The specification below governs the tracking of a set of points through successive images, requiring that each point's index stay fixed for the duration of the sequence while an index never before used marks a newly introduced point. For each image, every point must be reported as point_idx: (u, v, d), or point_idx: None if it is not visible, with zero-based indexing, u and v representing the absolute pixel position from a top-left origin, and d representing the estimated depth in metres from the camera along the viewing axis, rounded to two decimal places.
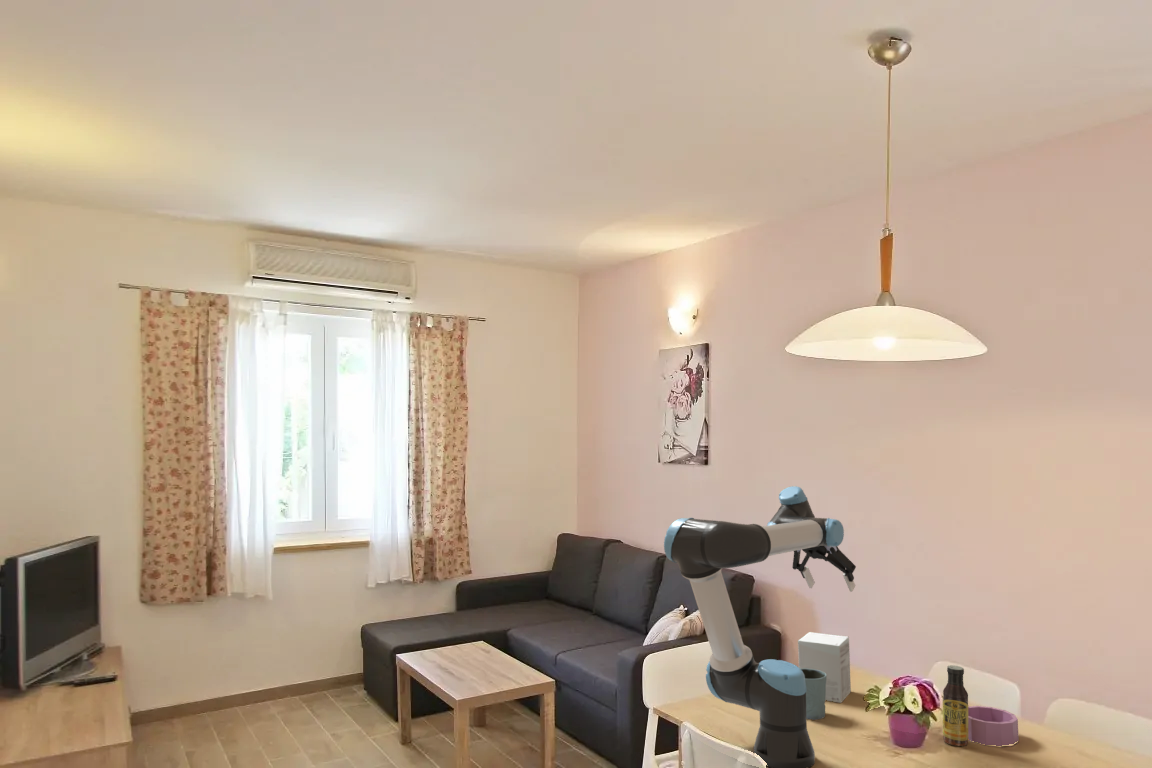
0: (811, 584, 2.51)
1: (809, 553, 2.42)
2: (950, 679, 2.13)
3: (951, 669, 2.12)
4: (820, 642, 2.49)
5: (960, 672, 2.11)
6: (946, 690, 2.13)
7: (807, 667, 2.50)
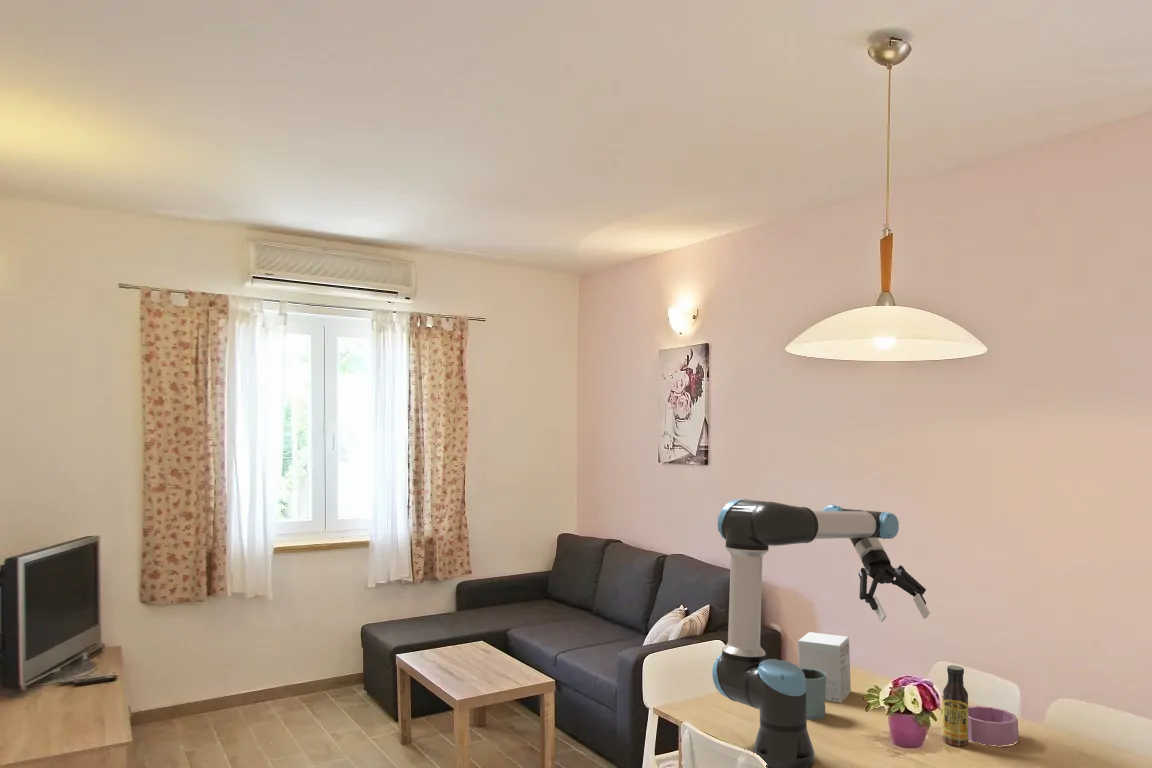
0: None
1: (881, 569, 2.33)
2: (950, 679, 2.13)
3: (951, 669, 2.12)
4: (820, 642, 2.49)
5: (960, 672, 2.11)
6: (946, 690, 2.13)
7: (807, 667, 2.50)
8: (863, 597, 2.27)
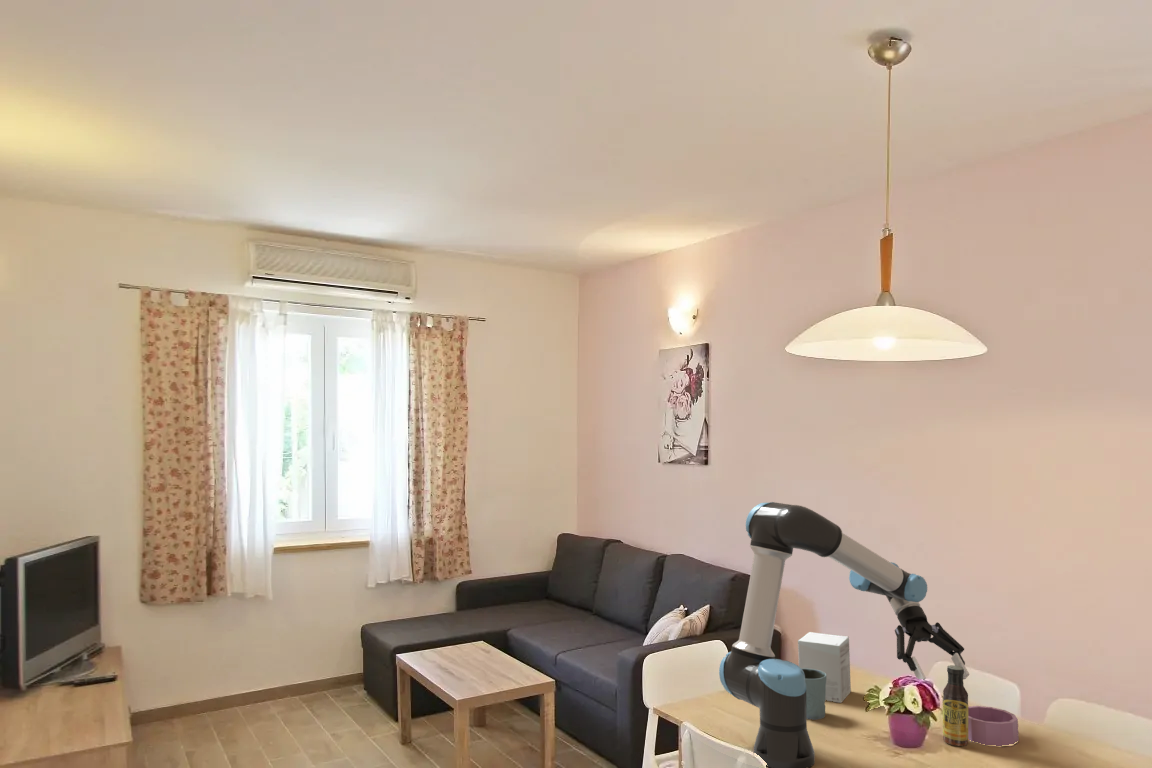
0: None
1: (918, 627, 2.28)
2: (950, 679, 2.13)
3: (951, 669, 2.12)
4: (820, 642, 2.49)
5: (960, 672, 2.11)
6: (946, 690, 2.13)
7: (807, 667, 2.50)
8: (901, 657, 2.22)
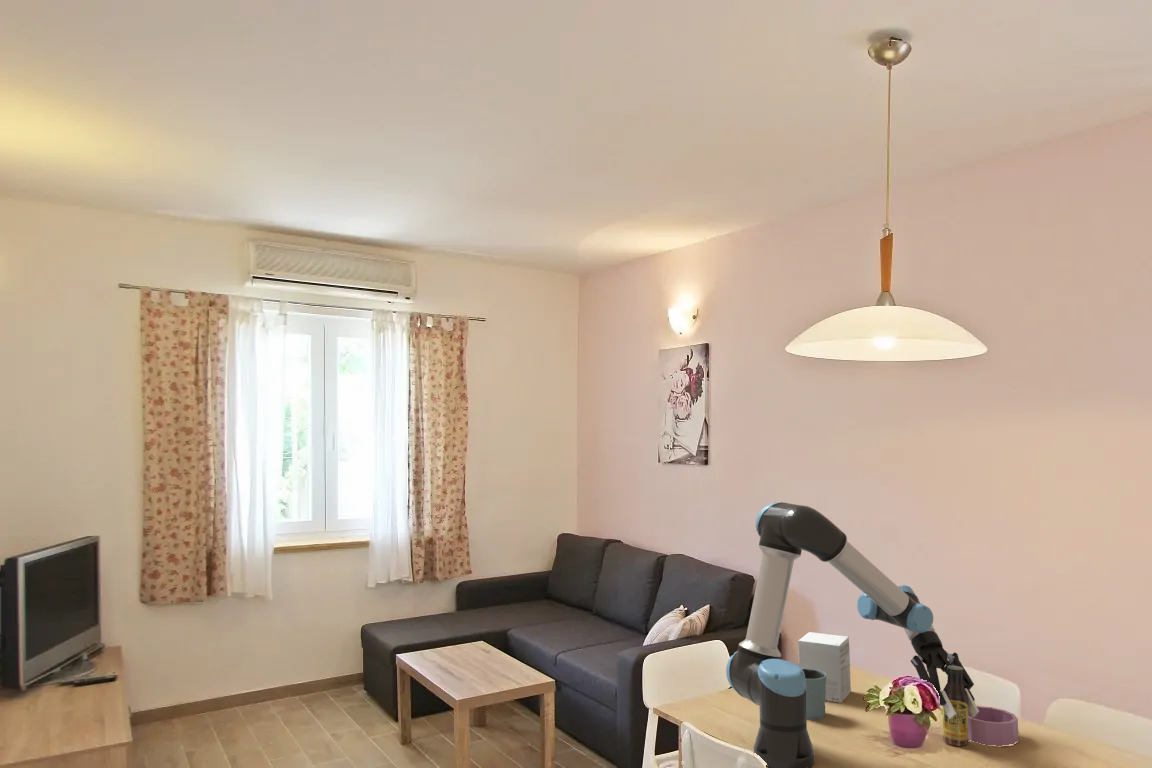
0: None
1: (933, 654, 2.20)
2: (949, 679, 2.13)
3: (950, 669, 2.12)
4: (820, 642, 2.49)
5: (960, 672, 2.11)
6: (946, 690, 2.13)
7: (807, 667, 2.50)
8: None
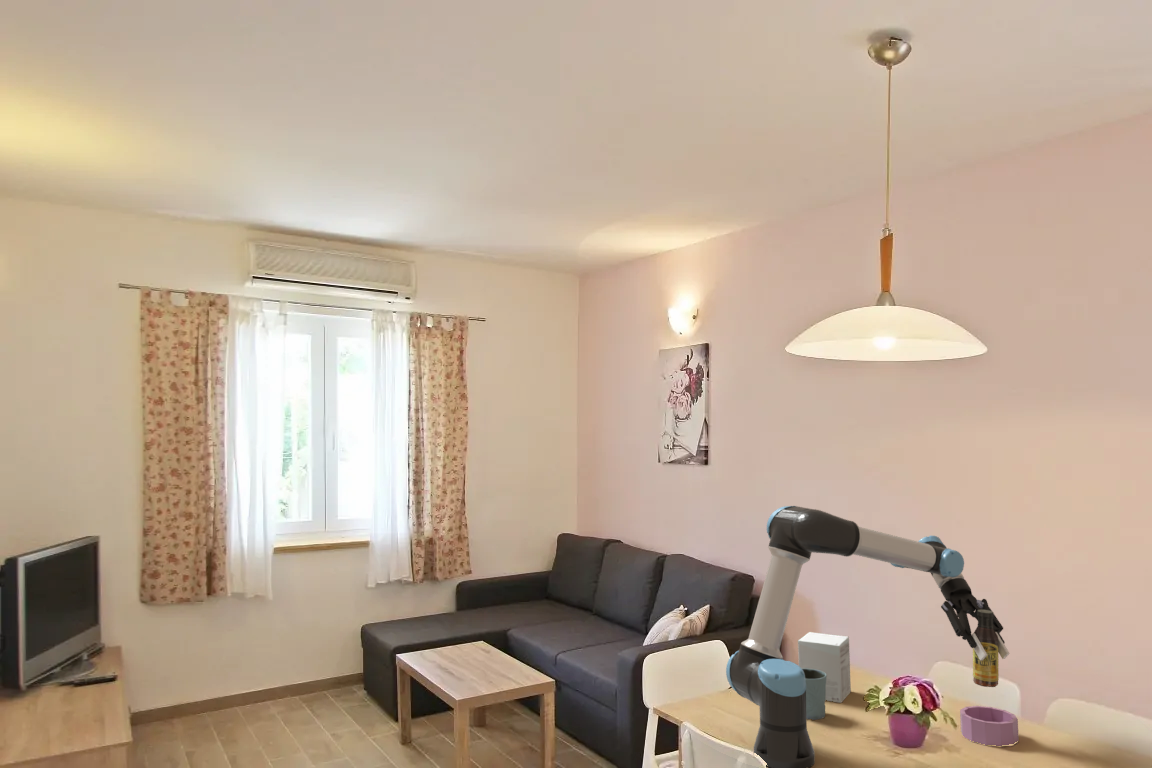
0: None
1: (962, 599, 2.25)
2: (980, 623, 2.17)
3: (981, 612, 2.17)
4: (820, 642, 2.49)
5: (990, 615, 2.16)
6: (976, 633, 2.18)
7: (807, 667, 2.50)
8: (960, 634, 2.18)
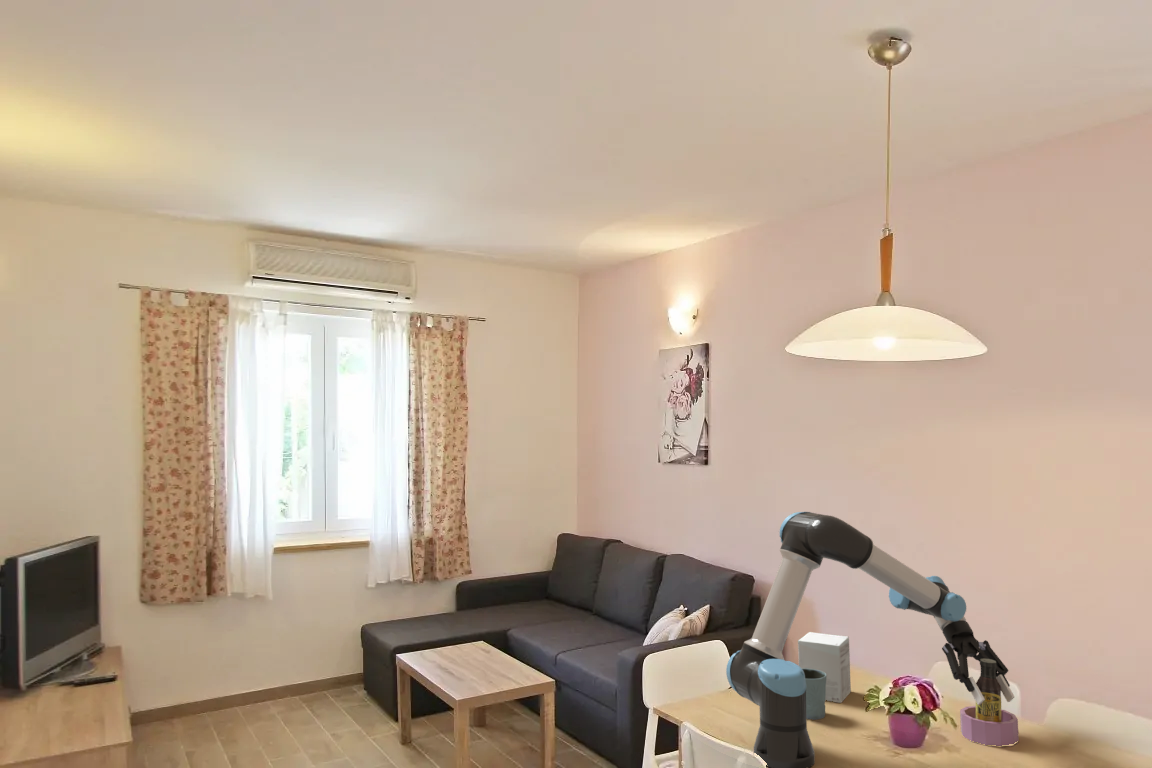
0: None
1: (965, 642, 2.24)
2: (983, 672, 2.16)
3: (984, 662, 2.16)
4: (820, 642, 2.49)
5: (993, 665, 2.15)
6: (979, 683, 2.17)
7: (807, 667, 2.50)
8: (958, 677, 2.17)
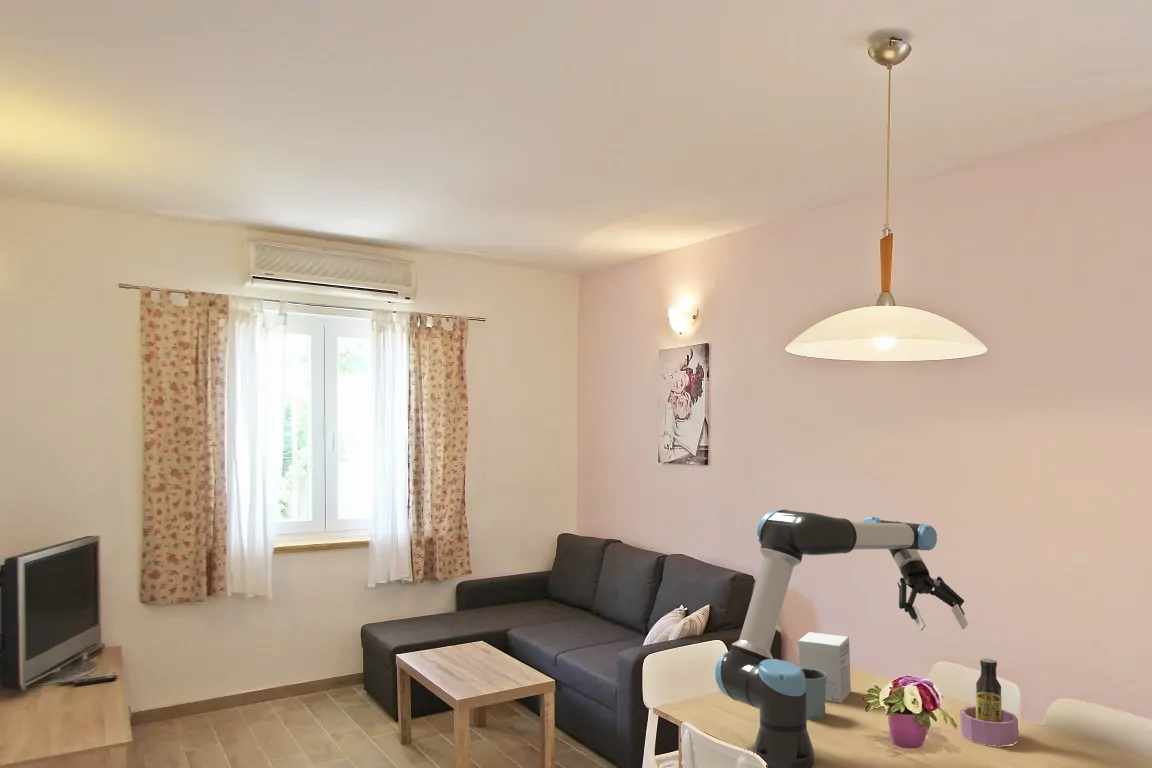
0: None
1: (920, 580, 2.39)
2: (983, 672, 2.17)
3: (984, 662, 2.16)
4: (820, 642, 2.49)
5: (994, 665, 2.16)
6: (979, 683, 2.17)
7: (807, 667, 2.50)
8: (902, 606, 2.33)
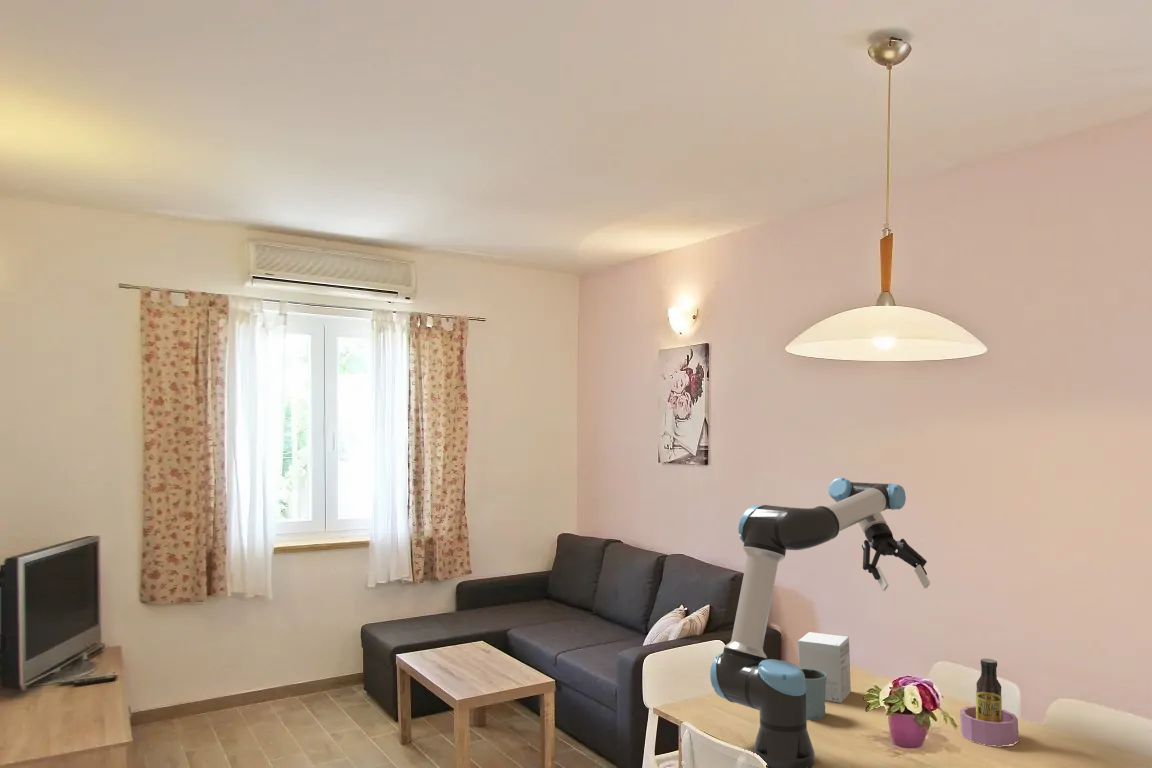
0: None
1: (883, 542, 2.42)
2: (983, 672, 2.17)
3: (985, 662, 2.16)
4: (820, 642, 2.49)
5: (994, 665, 2.15)
6: (979, 682, 2.17)
7: (807, 667, 2.50)
8: (866, 567, 2.36)
